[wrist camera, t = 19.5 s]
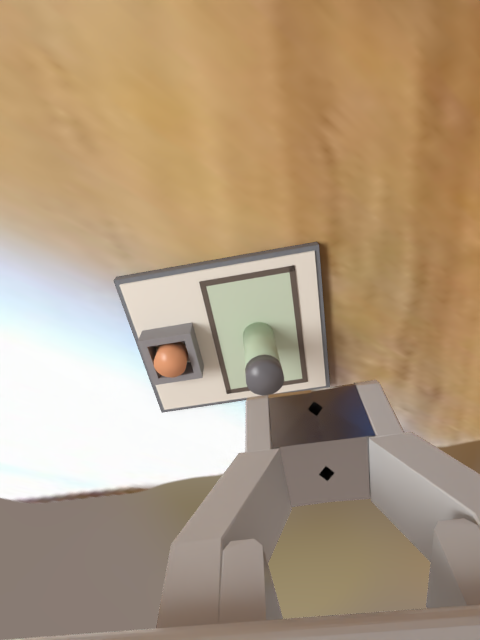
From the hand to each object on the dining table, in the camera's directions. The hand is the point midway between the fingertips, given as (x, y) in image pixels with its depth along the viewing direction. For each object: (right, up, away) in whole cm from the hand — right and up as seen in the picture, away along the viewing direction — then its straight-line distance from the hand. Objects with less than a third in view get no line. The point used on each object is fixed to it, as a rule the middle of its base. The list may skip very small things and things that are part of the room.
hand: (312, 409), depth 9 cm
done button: (-9, -2, +32) cm, 34 cm away
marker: (0, 0, +32) cm, 32 cm away
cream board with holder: (-3, +1, +34) cm, 34 cm away
